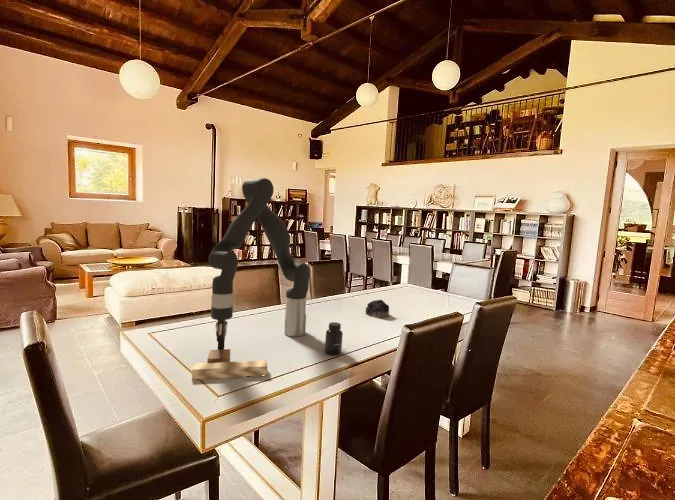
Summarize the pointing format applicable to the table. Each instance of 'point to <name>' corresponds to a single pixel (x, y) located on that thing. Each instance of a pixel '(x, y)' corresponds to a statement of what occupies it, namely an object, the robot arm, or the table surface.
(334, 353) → the supplement bottle
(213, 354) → the walnut block
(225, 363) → the ash board
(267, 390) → the table surface
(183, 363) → the table surface
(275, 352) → the table surface
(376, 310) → the black rock
